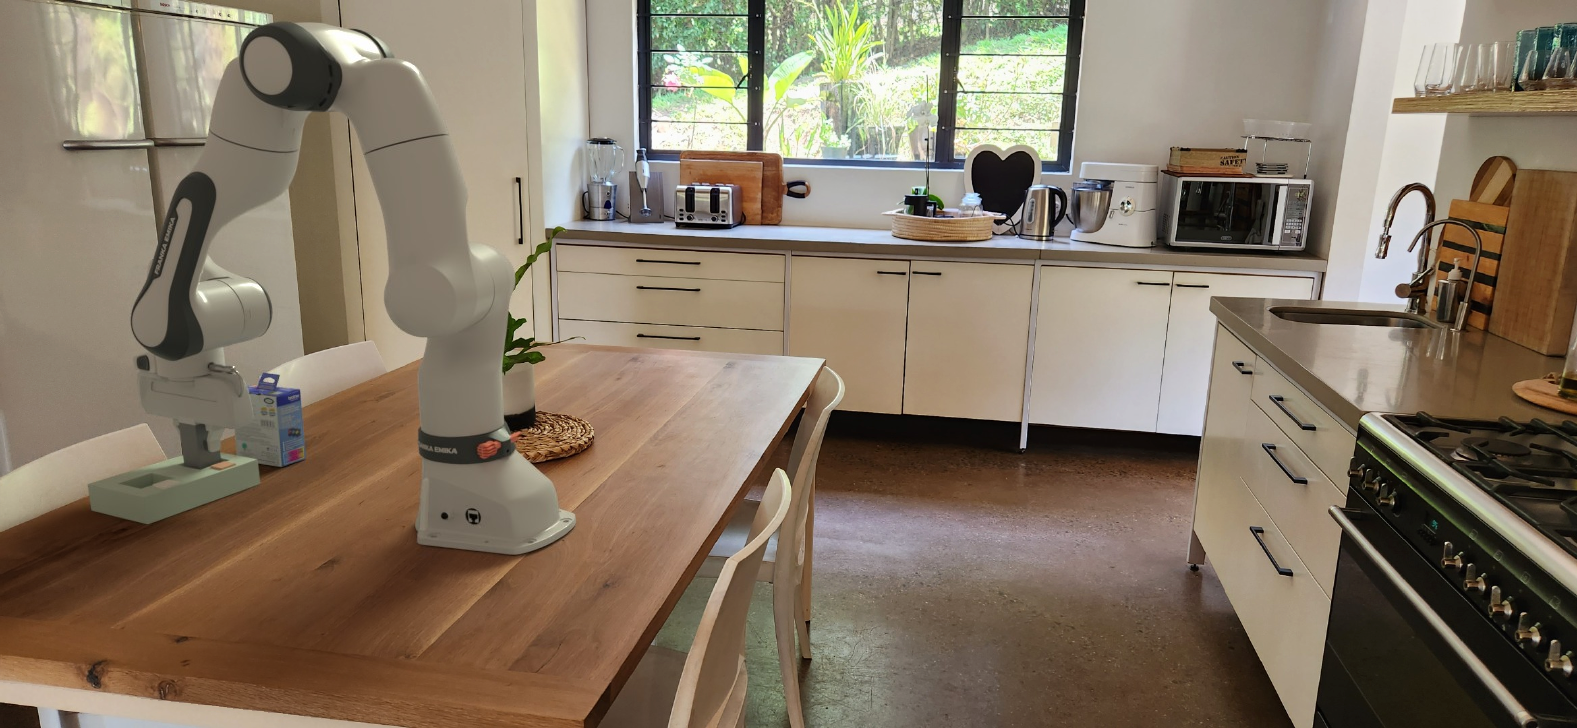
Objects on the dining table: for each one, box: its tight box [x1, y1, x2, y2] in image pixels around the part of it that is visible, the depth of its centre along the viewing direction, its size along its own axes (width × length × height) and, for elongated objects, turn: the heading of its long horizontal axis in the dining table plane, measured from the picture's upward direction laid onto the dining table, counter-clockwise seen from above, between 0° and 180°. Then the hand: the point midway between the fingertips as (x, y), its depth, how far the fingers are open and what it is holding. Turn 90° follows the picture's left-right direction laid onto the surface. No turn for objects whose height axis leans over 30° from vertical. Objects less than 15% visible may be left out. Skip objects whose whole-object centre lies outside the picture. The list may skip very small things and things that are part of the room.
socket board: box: [87, 451, 261, 525], centre depth 148 cm, size 12×18×4 cm, turn 157°
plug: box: [178, 416, 221, 470], centre depth 151 cm, size 4×4×10 cm
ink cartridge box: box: [233, 372, 307, 468], centre depth 164 cm, size 10×6×14 cm, turn 72°
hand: (201, 448), depth 151 cm, fingers closed on plug, 3 cm apart
